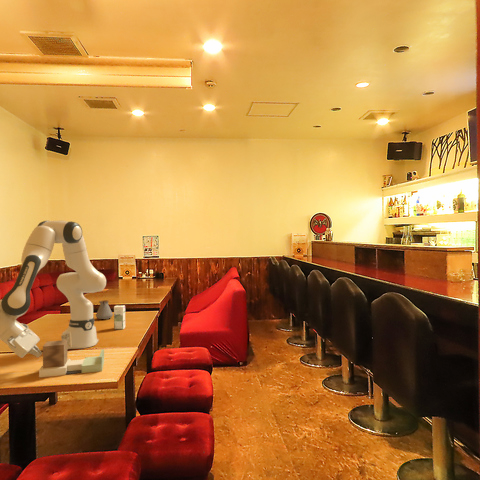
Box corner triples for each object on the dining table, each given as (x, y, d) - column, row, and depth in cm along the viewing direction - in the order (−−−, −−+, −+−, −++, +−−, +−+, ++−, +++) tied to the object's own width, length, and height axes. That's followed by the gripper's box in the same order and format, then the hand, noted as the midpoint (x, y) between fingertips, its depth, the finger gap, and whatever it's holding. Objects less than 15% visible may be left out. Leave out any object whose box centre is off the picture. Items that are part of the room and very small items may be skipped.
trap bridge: (39, 377, 150) (39, 362, 150) (46, 367, 162) (45, 354, 162) (101, 371, 157) (101, 356, 157) (104, 362, 168) (103, 349, 168)
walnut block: (43, 368, 153) (42, 346, 153) (47, 362, 160) (47, 341, 160) (64, 366, 155) (63, 344, 155) (67, 360, 162) (67, 339, 162)
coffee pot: (96, 318, 269) (96, 297, 269) (113, 316, 273) (112, 296, 273) (94, 324, 249) (94, 301, 249) (112, 322, 252) (112, 300, 252)
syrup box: (125, 327, 238) (125, 304, 238) (123, 329, 232) (122, 306, 232) (116, 327, 238) (116, 305, 238) (113, 329, 232) (113, 306, 232)
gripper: (12, 334, 144) (40, 357, 147) (26, 323, 164) (51, 343, 166) (-1, 346, 143) (27, 369, 145) (15, 334, 163) (40, 354, 165)
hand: (40, 355), depth 156 cm, fingers closed
